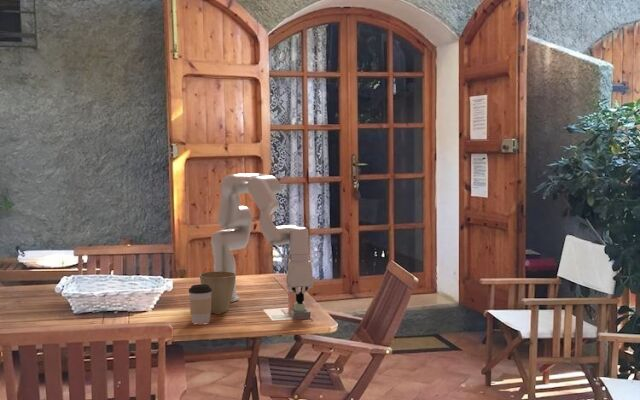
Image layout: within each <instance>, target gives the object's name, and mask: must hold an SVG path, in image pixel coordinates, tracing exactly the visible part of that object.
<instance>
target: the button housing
mask: <svg viewBox="0 0 640 400" xmlns="http://www.w3.org/2000/svg"><path fill="white" fill-rule="evenodd" d="M289 310H290V316H291V317H292V318H293V319H292V320H297V319H298V320H299V318H301V319H312V318H311V317H312V315H311V311H310V310H309V309H308V308H307V307H305V312H294V309H289Z"/></svg>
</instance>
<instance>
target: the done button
mask: <svg viewBox="0 0 640 400" xmlns="http://www.w3.org/2000/svg"><path fill="white" fill-rule="evenodd" d="M305 308H306V302H304V301H303V304H298V303H297V302H296V303H294V312H305Z"/></svg>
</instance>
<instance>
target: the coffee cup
mask: <svg viewBox="0 0 640 400" xmlns="http://www.w3.org/2000/svg"><path fill="white" fill-rule="evenodd" d="M211 289H212V288H210V287H209V285H204V284H201V283H199V284H194V285H191V286H190V287H189V289H188V294H189V297H188V299H189V307H190V310H189V311H190V313H191V323H197V324H203V325H205V324H204V323H208V324H210V323H211V313H210V312H211V291H212V290H211ZM209 322H210V323H209Z"/></svg>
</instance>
